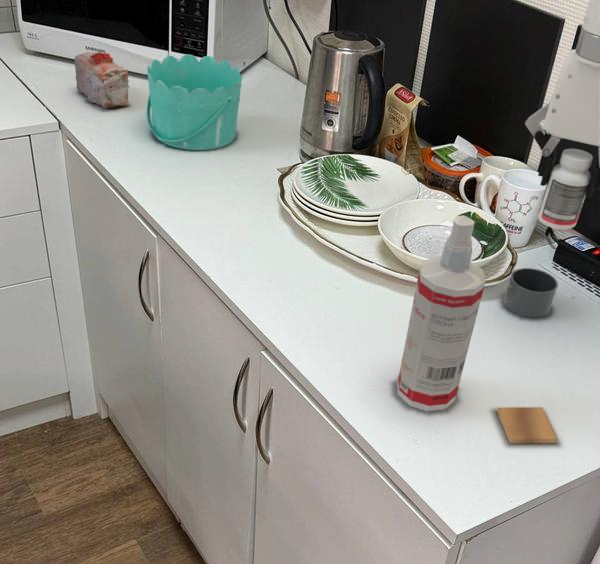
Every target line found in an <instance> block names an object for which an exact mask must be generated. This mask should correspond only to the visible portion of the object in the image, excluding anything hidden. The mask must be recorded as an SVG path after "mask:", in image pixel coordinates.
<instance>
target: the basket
mask: <svg viewBox="0 0 600 564" xmlns="http://www.w3.org/2000/svg"><path fill="white" fill-rule="evenodd" d="M146 72H147V82H148V91H149V95H148V99H147V103H146V120H147V124H148V127H149V129H150V131H151V132H152V133H153V134H154V136H155V138H156V139H157V140H158V141H159V142H161V143H163V144H165V145H166V146H170V147H173V148H177V149H179V150H180V149H182V150H188V151H189V150H190V151H207V150H209V151H210V150H215V149H219V148H223V147H226V146H228V145H230V144H231V143H232V142H233V141H234V140H235V138H236V135H237V126H238V117H239V116H238V115H239V107H240V102H241V89H242V81H243V73H241V74H240V69H239V67H238V66H234V67H233V68H232V66H231V64H230V62H229V61H228V60H226V59H222V60H220V61H219V62H217V60H216V59H215V58H214V57H213V56H210V55H204V56H203V57H201V58H200V59H199V60H198V59H197V57H196V56H195V55H194V54H190V53H188V54H187V53H186V54H184V55H182V56H181V57H180V59H179V60H178V58H177V57H175V56H173V55H167V56H165V57H163V59H162V62H160V61H159V60H158V59H153V60H152V61H151V64H150V66H149V65H147V66H146ZM151 117H152V118H151ZM151 119H152V120H151Z"/></svg>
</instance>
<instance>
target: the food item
mask: <svg viewBox="0 0 600 564" xmlns="http://www.w3.org/2000/svg"><path fill="white" fill-rule="evenodd" d="M74 69H75V81H76V90H77V91H78V92H79V93H81V94H83V95H84V96H86V97H87V100H88V102H89V103H92V104H96V105H99V106H101V107H102V108H103V109H115V108H121V107H126V106H129V88H130V85H129V74H128V73H129V72H128V69H126V68H124V67H122V66H121V65H119V64H117V63H115V62H114V58H113V57H111V55H110V53H107V52H105V53H103V52H100V51H98V52H95V51H93V52H92V51H87V52H83V53H80V54H77V55H76V56H75V57H74Z"/></svg>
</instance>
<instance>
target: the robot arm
mask: <svg viewBox="0 0 600 564" xmlns="http://www.w3.org/2000/svg"><path fill="white" fill-rule="evenodd" d="M542 121H544V123H543V125H541V122H542ZM524 125H525V127H526V128H527V129H528V131H529V132H530V134H531V135H532V136H533V138H534V141H535V142H536V144H537V145H538V147H539V149H540V150H541V154H542V159H541V163H540V166H539V171H538V174H537V176H538V177H541V179H540V180H541V181H540V185H539V186H543V187H545V186H546V185H547V182H548V179H549V175H550V172H551V170H552V168H553V167H554V166H555V161H556V158H557V155H558V152H557V145H558V144H559V143H560V141H561V139H565V140H568V141H573V142H578V143H581V144H587V145H591V146H596V147H598V161H596V164H595V165H594V167H593V170H592V174H591V179H590V183H589V186H588V189H587V192H586V198H592V195H593V193H594V191H600V0H588V4H587V7H586V10H585V14H584V18H583V21H582V25H581V29H580V33H579V36H578V39H577V44H576V46H575V49H571V50H570V51H569V52H568V55H567V56H566V58H565V60H564V62H563V65H562V67H561V70H560V73H559V75H558V77H557V80H556V83H555V86H554V89H553V91H552V95H551V98H550V101H549V102H547V104H545V105H544V106H542V107H541V108H540V109H538V110H537V111H535V112H534V113H532V114H531V115H530V116H528V117H527V119H526V120H525V122H524ZM549 135H550V136H549Z"/></svg>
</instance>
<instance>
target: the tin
mask: <svg viewBox="0 0 600 564" xmlns="http://www.w3.org/2000/svg"><path fill="white" fill-rule="evenodd" d="M558 288H559V282H558V281H557V279H556V278H555V277H554V276H553V275H552V274H550V273H548V272H546V271H543V270H541V269H539V268H533V267H532V268H531V267H524V268H523V267H522V268H517V269H516V270H513V271H512V273H511V274H510V277H509V281H508V284H507V288H506V291H505V295H504V299H503V303H504V306H505V308H506V309H508V310H509V311H510V312H511V313H513V314H515V315H517V316H519V317H523V318H528V319H539V318H543V317H545V316H547V315H548V314H549V313H550V311H551V309H552V305H553V303H554V299H555V297H556V293H557V290H558Z"/></svg>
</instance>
